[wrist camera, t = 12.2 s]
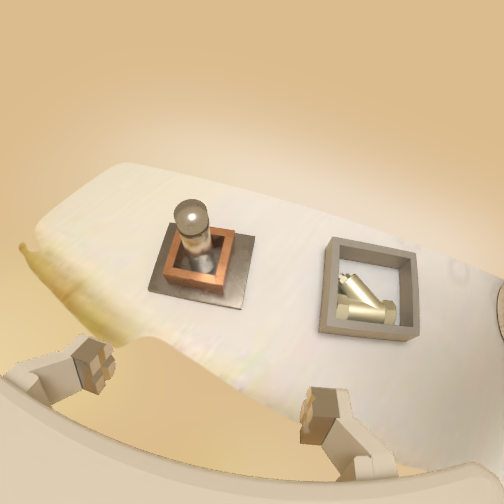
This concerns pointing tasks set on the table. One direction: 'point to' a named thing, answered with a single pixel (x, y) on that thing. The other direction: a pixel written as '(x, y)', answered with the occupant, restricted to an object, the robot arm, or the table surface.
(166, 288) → the collar
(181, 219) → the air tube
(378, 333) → the parts corral
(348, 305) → the pipe fitting
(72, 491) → the robot arm
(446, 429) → the table surface
